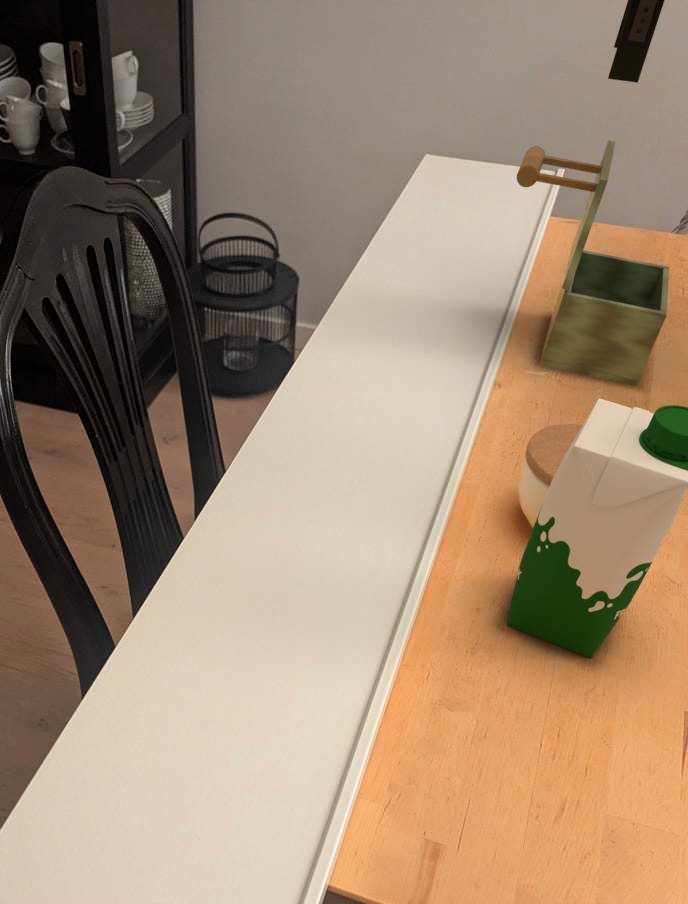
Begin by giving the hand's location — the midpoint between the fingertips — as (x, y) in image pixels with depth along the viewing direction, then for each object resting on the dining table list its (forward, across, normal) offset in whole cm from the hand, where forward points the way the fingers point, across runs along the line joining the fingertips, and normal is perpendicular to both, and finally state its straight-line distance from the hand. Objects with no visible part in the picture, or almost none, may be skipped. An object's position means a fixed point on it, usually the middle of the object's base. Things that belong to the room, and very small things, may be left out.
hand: (625, 63), depth 91 cm
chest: (+29, -1, +6) cm, 30 cm away
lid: (+15, -1, +2) cm, 15 cm away
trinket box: (+30, +36, +6) cm, 48 cm away
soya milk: (+30, +49, +7) cm, 58 cm away
